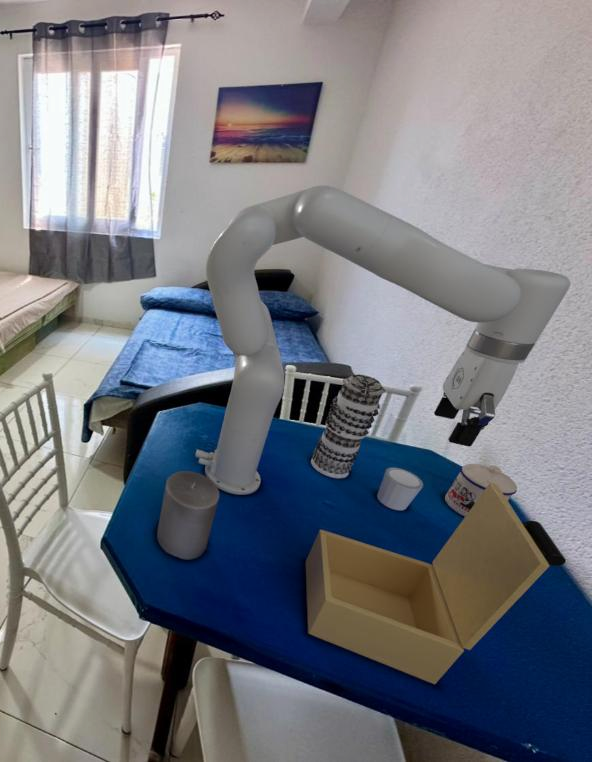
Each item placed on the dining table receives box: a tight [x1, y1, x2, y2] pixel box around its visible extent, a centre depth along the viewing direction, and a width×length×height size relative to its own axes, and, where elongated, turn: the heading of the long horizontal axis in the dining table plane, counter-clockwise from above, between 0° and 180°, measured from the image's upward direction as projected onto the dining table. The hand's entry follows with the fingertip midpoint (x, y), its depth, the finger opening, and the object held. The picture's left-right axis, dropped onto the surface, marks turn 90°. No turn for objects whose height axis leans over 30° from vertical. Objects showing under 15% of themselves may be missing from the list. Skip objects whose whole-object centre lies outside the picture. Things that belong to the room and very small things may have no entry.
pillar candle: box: [156, 470, 220, 560], centre depth 77 cm, size 10×10×15 cm
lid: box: [431, 483, 567, 651], centre depth 56 cm, size 18×15×5 cm
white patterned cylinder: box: [310, 374, 386, 479], centre depth 96 cm, size 9×9×25 cm
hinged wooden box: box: [305, 529, 465, 685], centre depth 66 cm, size 17×15×9 cm
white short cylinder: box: [376, 467, 424, 511], centre depth 90 cm, size 7×7×7 cm
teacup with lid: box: [444, 463, 518, 517], centre depth 87 cm, size 12×9×12 cm
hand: (450, 429), depth 76 cm, fingers open, 9 cm apart
